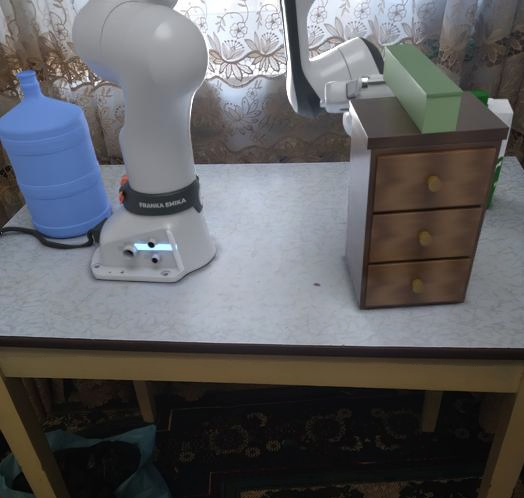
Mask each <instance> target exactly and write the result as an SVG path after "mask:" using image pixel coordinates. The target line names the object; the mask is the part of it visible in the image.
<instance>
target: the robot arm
mask: <svg viewBox="0 0 524 498" xmlns="http://www.w3.org/2000/svg"><path fill="white" fill-rule="evenodd" d="M180 1H181V0H88V1H87V2H86V3H85V4H84V6H82V7H81V8H80V9H79V10H78V11H77V13H76V15H75V17H74V19H73V23H72V28H71V38H72V44H73V47H74V50H75V53H76V54H77V56H78V58H79V59H80V61H81V62H82V63H83V64H84V65H85V66H86V67H87V68H88V69H89V70H91V72H93V73H94V75H96V76H97V77H98V78H99V79H102V80H103V81H106V82H108V83H110V84H111V83H112V84H114V85H117V86H119V87H120V88H121V92H122V95H123V99H124V100H123V101H124V122H123V126H122V127H121V129H120V131H119V133H118V143H119V147H120V152H121V155H122V160H123V163H124V168H125V173H126V174H123V176H122V177H121V180H120V182H119V185H120V187H119V190H118V193H119V194H118V200H119V204H120V206H119V207H118V208H117V209H116V210H114V211H113V213H111V216H110V217H109V218H104V219H103V220H102V221H101V222H100V223H99V224H97V225H96V226H95V227H94V228H92V229H90V230H89V231H88V232H87V234H86V237H87V240H88V241H86V242H84V243H82V244H66V243H60V242H56V241H51V240H48V239H46V238H45V237H44V235H43V234H41V233H39V232H38V231H37V230H36V229H32V228H29V227H23V226H4V227H1V228H0V236H2V234H5V233H10V232H11V233H12V232H14V233H15V232H16V233H23V234H30V235H33V236H35V237H36V238H37V239H38V240H39V242H40V243H41V244H43V245H45V246H48V247H50V248H51V247H52V248H55V249H61V250H74V249H84V248H90V247H91V246H92V245H93V244H94V243H96V244H98V245H97V247H96V249H95V250H94V252H93V255H92V257H91V260H90V268H91V273H92V275H93V277H94V278H95V279H96V280H108V281H109V280H110V281H128V282H129V281H131V282H150V283H151V282H152V283H153V282H154V283H176V282H178V281H179V280H181V279H183V278H184V277H185V276H186V275H187V274H189V273H192V272H194V271H196V270H197V269H198V270H199V269H200V268H203V267H204V266H206V265H207V264H208V263H210V262H211V260H212V259H214V258H215V255H216V253H217V246H216V244H215V241H214V239H213V237H212V235H211V233H210V230H209V226H208V224H207V220H206V217H205V214H204V210H203V208H204V196H203V190H202V184H201V182H200V177H199V174H198V172H197V171H196V166H195V160H194V151H193V143H192V138H191V115H192V114H191V113H192V105H193V100H194V96H195V94H196V92H197V91H198V90H199V89H200V87H201V86H202V84H203V83H204V81H205V79H206V76H207V73H208V70H209V63H210V53H209V46H208V42H207V39H206V37H205V35H204V33H203V31H202V29H201V28H200V27H199V26H198V25H197V23H196V22H195V21H193V20H192V19H190V18H188V17H187V16H185V14H183V13H181V12H179V11H177V10H175V9H176V7H177V5H178V4H179V2H180ZM315 1H316V0H279V11H280V20H281V21H280V22H281V30H282V40H283V49H284V57H285V59H284V60H285V71H286V73H285V74H286V75H285V77H286V78H285V79H286V93H287V98H288V101H289V104H290V105H291V107H292V109H293V111H294V113H295V114H297V115H299V116H302V117H304V118H308V119H313V120H314V119H316V118H318V117H320V116H321V115H323V114H324V113H326V112H327V113H329V114H343V115H342V126H343V128H344V131H345V133H346V134H347V135H348V136H349V137H351V129H352V116H351V114H350V112H349V100H356V99H369V98H382V97H396V96H395V95H394V93H393V92H392V91H391V89H390V88H389V86H388V85H387V84H386V82H385V81H384V79H383V71H384V58H383V56H382V53H381V51H380V49H379V47H377V45H375V44H374V43H373V42H371V41H370V40H368V39H367V38H364V37H362V36H356V37H353V38H351V39H349V40H346V41H344V42H343V43H340V44H339V45H337V46H335V47H334V48H331V49H329V50H327V51H325V52H323V53H321V54H319V55H317V56H315V57H311V58H310V43H309V30H308V16H309V13H310V10H311V8H312V7H313V5H314V3H315ZM1 232H2V233H1Z"/></svg>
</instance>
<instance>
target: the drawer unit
mask: <svg viewBox="0 0 524 498" xmlns="http://www.w3.org/2000/svg"><path fill="white" fill-rule="evenodd" d="M462 91H463V95H462V96H461V101H460V107H459V113H458V118H457V124H456V130H455V131H451V132H437V133H423V134H422V133H421V131H420V130H419V128H418V127H417V126H416V124H415V123H414V121H413V120H412V119H411V117H410V116H409V114H408V113H407V112H406V110H405V109H404V107H403V106H402V105H401V103H400V102H399V100H398V99H397V98H396V97H382V98H369V99H356V100H349V112H350V114H351V116H352V129H351V136H350V149H349V150H350V151H349V152H350V154H349V170H348V171H349V174H348V176H349V177H348V193H347V216H346V234H345V235H346V237H345V261H346V265H347V269H348V272H349V276H350V281H351V283H352V287H353V291H354V295H355V299H356V302H357V305H358V308H359V310H367V309H368V310H369V309H380V308H381V309H382V308H399V307H415V306H429V305H442V304H443V305H445V304H446V305H447V304H459V303H465V300H466V297H467V292H468V288H469V283H470V279H471V274H472V271H473V268H474V267H473V266H474V261H475V258H476V254H477V250H478V245H479V241H480V237H481V233H482V228H483V224H484V219H485V216H486V211H487V209H486V208H487V204H488V199H489V195H490V191H491V187H492V183H493V178H494V174H495V170H496V166H497V162H498V157H499V153H500V149H501V145H502V140H507V136H508V132H509V127H508V126H507V125H506V124H505V123H504V122H503V121H502V120H501V119H500V118H499V117H498V116H496V115H495V114H494V113H493V112H492V111H491V110H490V109H489V108H488V107H487V106H486V105H484V104H483V103H482V102H481V101H480V100H479V99H478V98H477V97H476V96H475V95H473V94H472V93H471V92H470V91H469V90H462Z"/></svg>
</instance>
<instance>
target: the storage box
mask: <svg viewBox="0 0 524 498" xmlns="http://www.w3.org/2000/svg"><path fill="white" fill-rule="evenodd" d="M383 60H384V71H383V79H384V81H385V82H386V84H387V85H388V86H389V88H390V89H391V91H392V92H393V93H394V95H395V96H396V98H397V99H398V100H399V102H400V103H401V105H402V106H403V107H404V109H405V110H406V112H407V113H408V114H409V116H410V117H411V119H412V120H413V121H414V123H415V124H416V126H417V127H418V128H419V130H420V131H421V133H422V134H423V133H437V132H451V131H455V130H456V124H457V118H458V113H459V107H460V101H461V96H462V95H463V91H464V90H462V88H461V87H459V85H457V84H456V83H455V82H454V81H453V80H452V79H451V78H450V77H449V76H448V75H447V74H446V73H445V72H443V71H442V70H441V68H439V67H438V65H436V64H435V63H434V62H433V61H432V60H431V59H430V58H429V57H428V56H427V55H426V54H424V52H423V51H422V50H420V48H418V47H417V46H416V45H415V44H414V43H403V44H391V45H390V44H389V45H384V58H383Z"/></svg>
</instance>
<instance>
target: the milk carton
mask: <svg viewBox="0 0 524 498" xmlns="http://www.w3.org/2000/svg"><path fill="white" fill-rule="evenodd" d="M468 91H470V92H471V93H472V94H473V95H475V96H476V97H477V98H478V99H479V100H480V101H481V102H482V103H483V104H484V105H486V106H487V107H488V108H489V109H490V110H491V111H492V112H493V113H494V114H495V115H496V116H498V117H499V118H500V119H501V120H502V121H503V122H504V123H505V124H506V125H507V126H508V127H509V132H508V136H507V140H502V145H501V149H500V153H499V157H498V162H497V166H496V170H495V174H494V178H493V183H492V187H491V191H490V195H489V199H488V204H487V208H486V210H487V209H489V208H490V205H491V202H492V199H493V196H494V193H495V191H496V187H497V184H498V181H499V177H500V174H501V169H502V166H503V162H504V157H505V155H506V154H505V153H506V150H507V145H508V142H509V137H510V132H511V128H512V122H513V117H514V110H513V108H512V106H511V104H510V102H509V99H508V98H492V97H490V92H489V91H487V90H484V89H470V90H468Z"/></svg>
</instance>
